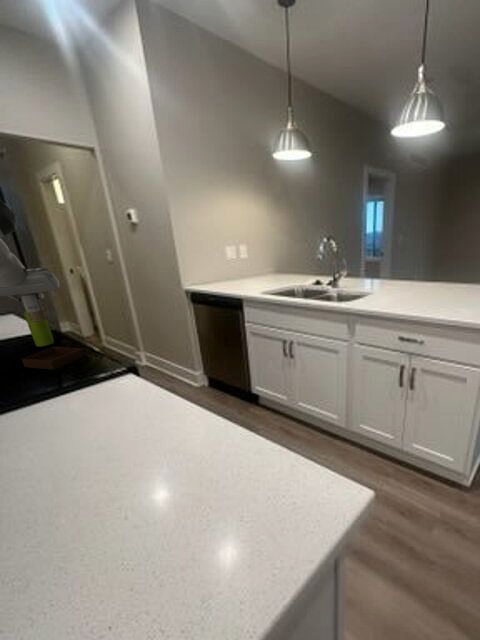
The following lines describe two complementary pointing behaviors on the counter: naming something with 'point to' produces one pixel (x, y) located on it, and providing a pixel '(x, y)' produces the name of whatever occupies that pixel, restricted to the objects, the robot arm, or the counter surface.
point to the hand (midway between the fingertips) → (30, 298)
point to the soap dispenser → (40, 331)
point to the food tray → (53, 358)
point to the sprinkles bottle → (33, 307)
